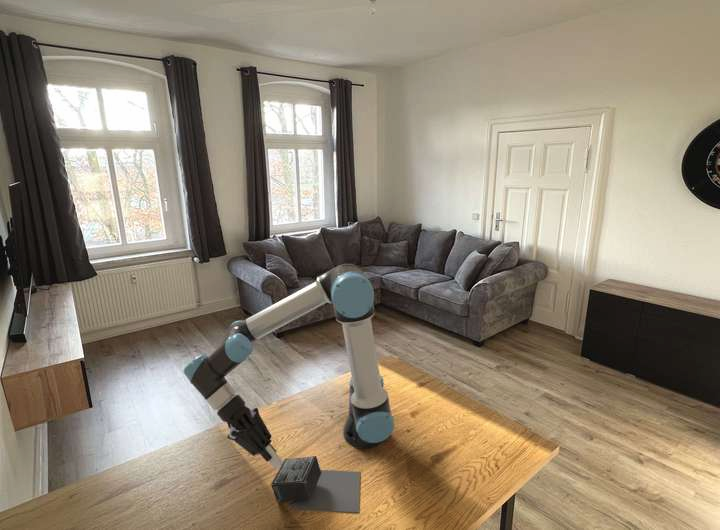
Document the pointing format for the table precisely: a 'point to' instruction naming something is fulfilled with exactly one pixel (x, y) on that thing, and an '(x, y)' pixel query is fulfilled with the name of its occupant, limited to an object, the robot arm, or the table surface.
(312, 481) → the small box
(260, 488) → the table surface
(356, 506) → the mat
